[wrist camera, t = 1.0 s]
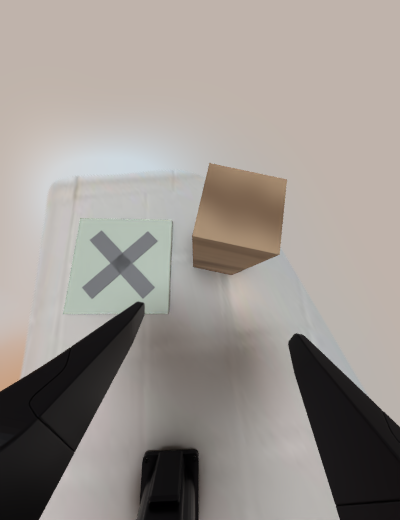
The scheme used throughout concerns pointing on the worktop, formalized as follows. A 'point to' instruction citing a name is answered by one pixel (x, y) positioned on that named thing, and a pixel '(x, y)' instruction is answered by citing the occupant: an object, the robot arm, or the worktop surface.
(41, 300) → the worktop surface
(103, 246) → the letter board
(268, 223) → the walnut block
